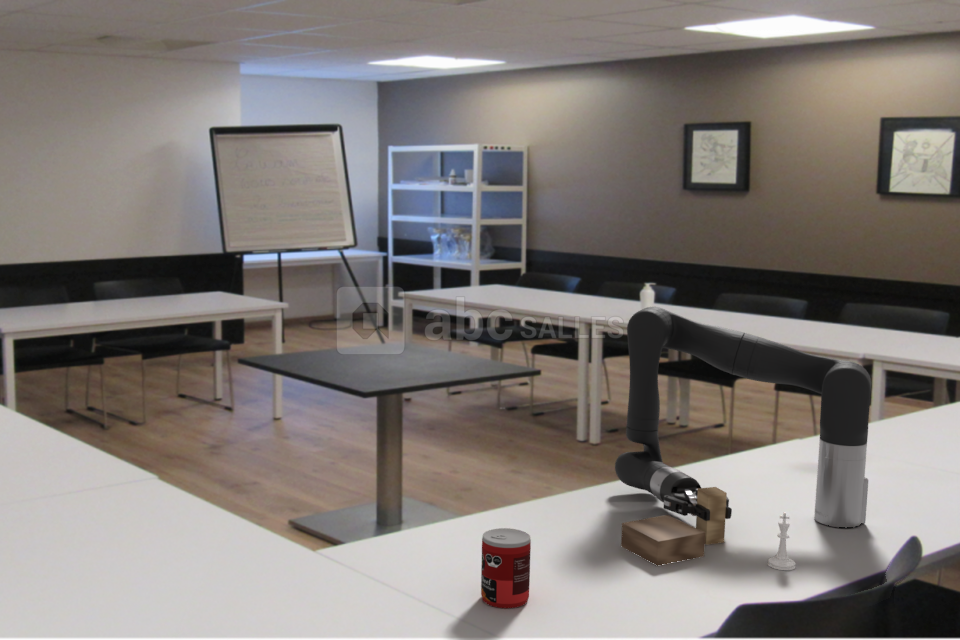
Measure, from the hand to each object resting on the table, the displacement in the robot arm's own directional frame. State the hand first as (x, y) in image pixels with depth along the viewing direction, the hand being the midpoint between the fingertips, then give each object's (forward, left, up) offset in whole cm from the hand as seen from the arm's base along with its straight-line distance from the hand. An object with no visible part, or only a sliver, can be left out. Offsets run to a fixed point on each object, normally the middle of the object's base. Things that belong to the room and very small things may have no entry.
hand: (718, 514), depth 191 cm
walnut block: (+12, 0, -6) cm, 14 cm away
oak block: (0, -3, -6) cm, 7 cm away
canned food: (+48, +13, -6) cm, 50 cm away
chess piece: (-6, +12, -6) cm, 15 cm away
